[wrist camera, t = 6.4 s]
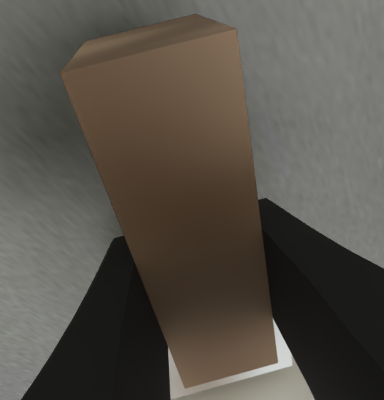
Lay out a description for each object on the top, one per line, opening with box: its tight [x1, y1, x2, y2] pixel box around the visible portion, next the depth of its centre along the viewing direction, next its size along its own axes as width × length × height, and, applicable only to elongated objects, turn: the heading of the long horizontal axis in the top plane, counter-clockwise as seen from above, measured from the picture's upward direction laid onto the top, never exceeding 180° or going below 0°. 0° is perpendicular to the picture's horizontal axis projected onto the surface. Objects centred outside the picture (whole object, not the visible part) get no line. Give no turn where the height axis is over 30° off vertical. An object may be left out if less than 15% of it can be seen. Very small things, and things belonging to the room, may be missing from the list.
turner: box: [60, 14, 292, 399], centre depth 10 cm, size 5×13×4 cm, turn 12°
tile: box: [170, 354, 315, 400], centre depth 16 cm, size 6×1×6 cm, turn 102°
